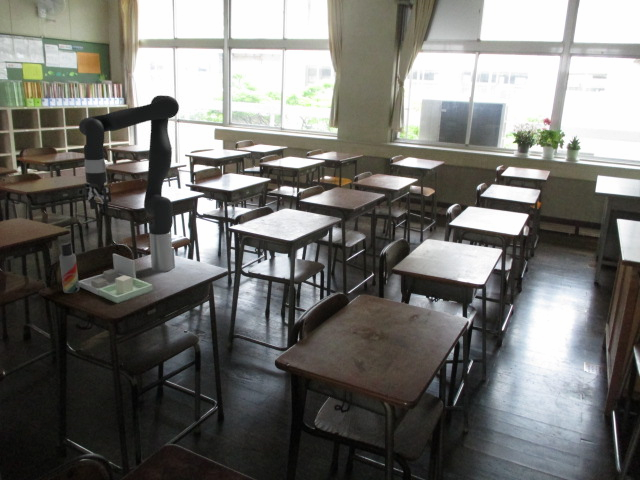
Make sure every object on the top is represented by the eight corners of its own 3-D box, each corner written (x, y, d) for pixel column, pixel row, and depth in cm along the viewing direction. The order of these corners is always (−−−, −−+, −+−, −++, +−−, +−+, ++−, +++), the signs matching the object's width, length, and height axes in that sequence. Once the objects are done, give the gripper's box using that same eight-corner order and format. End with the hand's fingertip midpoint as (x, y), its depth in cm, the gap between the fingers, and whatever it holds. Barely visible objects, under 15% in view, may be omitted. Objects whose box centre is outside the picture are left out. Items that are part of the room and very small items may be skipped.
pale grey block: (100, 287, 206) (100, 277, 205) (107, 289, 204) (106, 280, 203) (92, 290, 203) (91, 280, 202) (98, 292, 201) (97, 283, 200)
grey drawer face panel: (117, 275, 220) (115, 253, 217) (137, 283, 213) (135, 260, 210) (114, 276, 219) (112, 253, 216) (134, 284, 212) (132, 261, 209)
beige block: (125, 289, 203) (124, 275, 202) (133, 291, 201) (132, 277, 200) (116, 293, 200) (115, 278, 198) (124, 295, 198) (123, 281, 196)
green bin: (134, 284, 211) (134, 277, 210) (153, 291, 205) (152, 284, 204) (99, 296, 199) (98, 289, 198) (117, 304, 192) (116, 297, 191)
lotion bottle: (75, 294, 200) (69, 245, 194) (60, 293, 200) (54, 245, 194) (82, 288, 205) (76, 241, 199) (68, 288, 205) (62, 240, 199)
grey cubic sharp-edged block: (112, 277, 216) (111, 268, 215) (118, 280, 214) (117, 271, 213) (104, 280, 213) (103, 271, 212) (110, 282, 211) (109, 273, 209)
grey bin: (113, 276, 219) (113, 270, 218) (133, 284, 211) (133, 278, 211) (78, 287, 207) (77, 281, 206) (98, 296, 199) (97, 290, 198)
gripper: (114, 171, 200) (118, 212, 204) (94, 167, 207) (97, 206, 212) (97, 174, 194) (101, 215, 198) (76, 169, 201) (80, 209, 206)
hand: (99, 210), depth 205 cm, fingers open, 8 cm apart
